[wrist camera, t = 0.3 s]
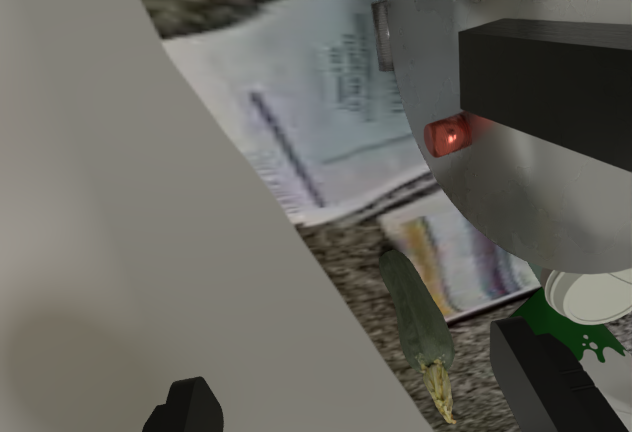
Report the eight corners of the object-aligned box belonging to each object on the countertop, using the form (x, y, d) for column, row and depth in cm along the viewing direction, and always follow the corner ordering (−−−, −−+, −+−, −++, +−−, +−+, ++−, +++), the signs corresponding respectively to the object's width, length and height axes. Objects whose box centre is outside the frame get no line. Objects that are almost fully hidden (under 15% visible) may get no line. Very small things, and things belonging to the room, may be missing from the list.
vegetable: (376, 233, 45) (429, 395, 28) (414, 233, 45) (490, 393, 28) (372, 264, 47) (418, 432, 30) (408, 264, 47) (475, 431, 30)
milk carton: (494, 324, 53) (589, 491, 36) (543, 276, 49) (677, 438, 32) (541, 344, 56) (652, 509, 39) (592, 300, 52) (740, 461, 35)
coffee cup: (582, 230, 46) (665, 304, 36) (509, 262, 48) (568, 342, 38) (565, 172, 42) (653, 237, 32) (486, 210, 44) (546, 283, 34)
